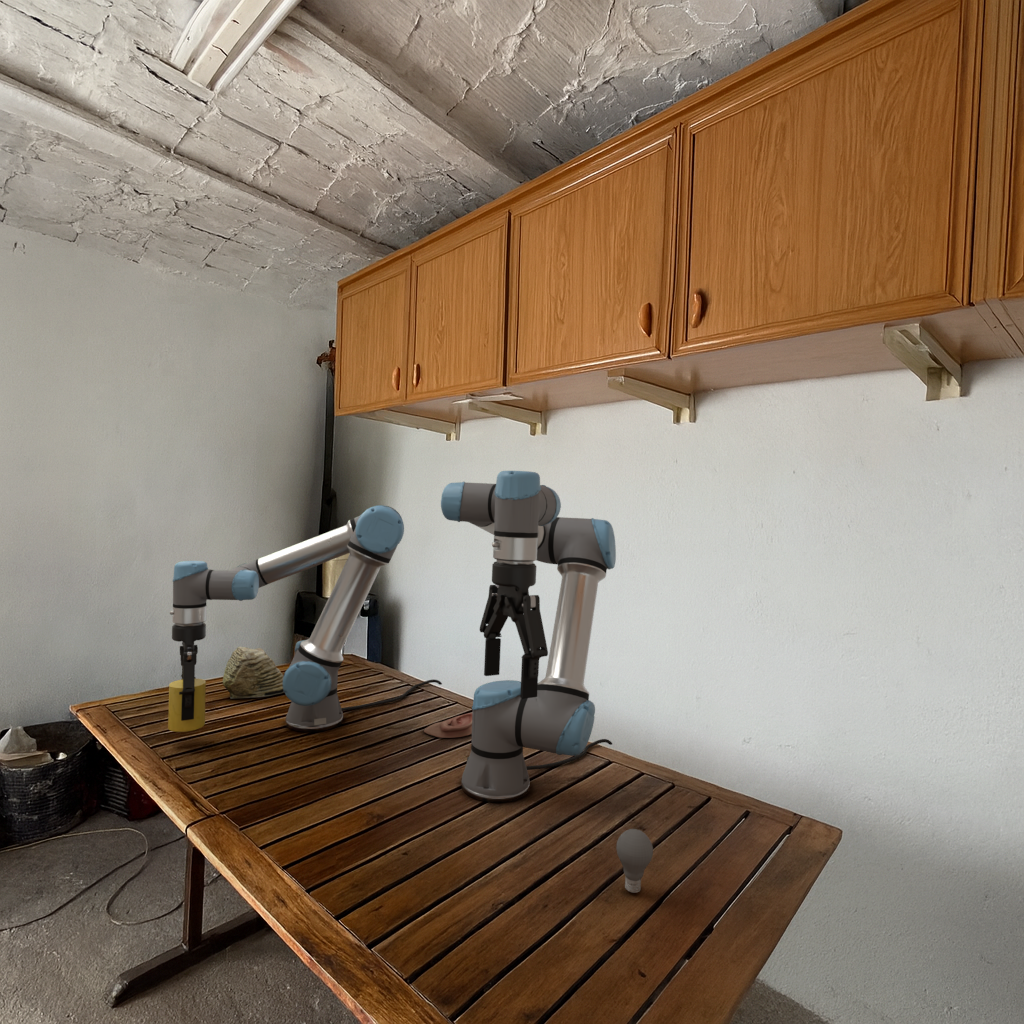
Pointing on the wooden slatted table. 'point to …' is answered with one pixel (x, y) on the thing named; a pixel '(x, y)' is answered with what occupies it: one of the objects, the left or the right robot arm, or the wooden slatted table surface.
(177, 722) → the canister
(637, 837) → the light bulb
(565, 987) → the wooden slatted table surface
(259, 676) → the fossil
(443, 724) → the anatomical model
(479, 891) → the wooden slatted table surface
